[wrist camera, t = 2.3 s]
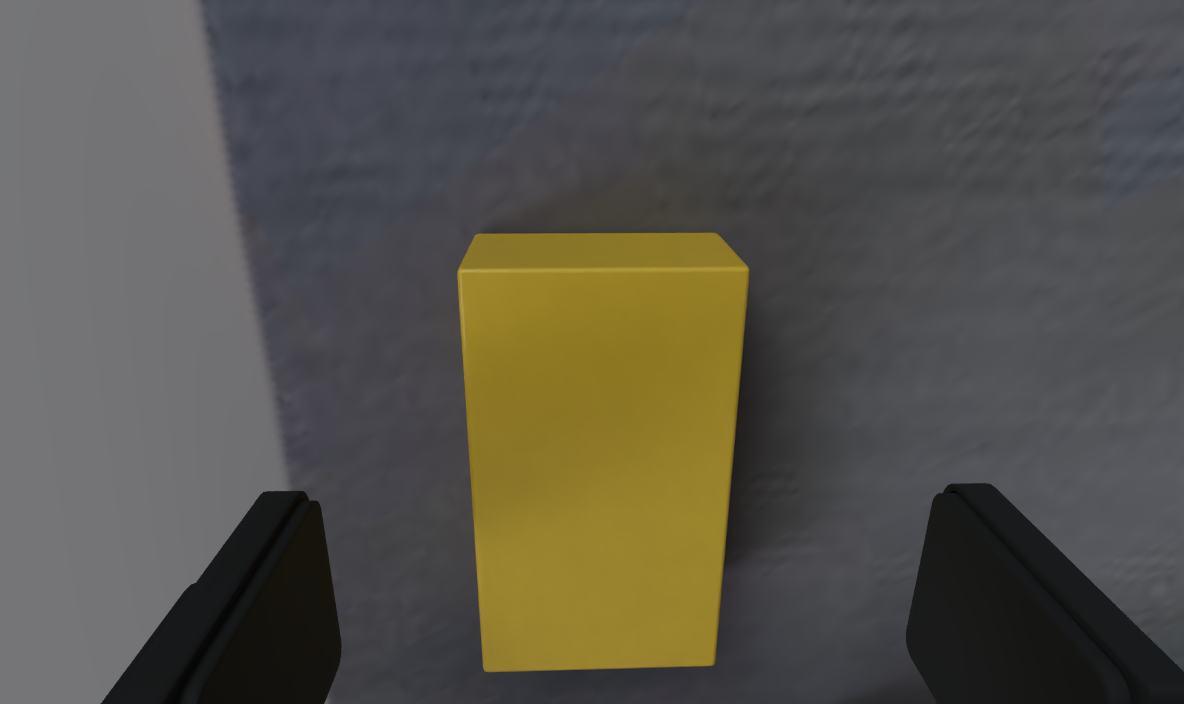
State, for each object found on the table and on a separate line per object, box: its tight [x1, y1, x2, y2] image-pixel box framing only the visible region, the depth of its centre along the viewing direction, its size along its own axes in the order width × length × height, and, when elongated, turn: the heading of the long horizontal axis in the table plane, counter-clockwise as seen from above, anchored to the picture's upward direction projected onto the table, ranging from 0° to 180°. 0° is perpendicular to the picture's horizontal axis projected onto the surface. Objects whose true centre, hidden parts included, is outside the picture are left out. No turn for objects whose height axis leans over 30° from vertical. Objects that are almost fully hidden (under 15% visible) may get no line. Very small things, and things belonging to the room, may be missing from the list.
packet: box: [457, 233, 750, 672], centre depth 14 cm, size 8×4×2 cm, turn 0°
